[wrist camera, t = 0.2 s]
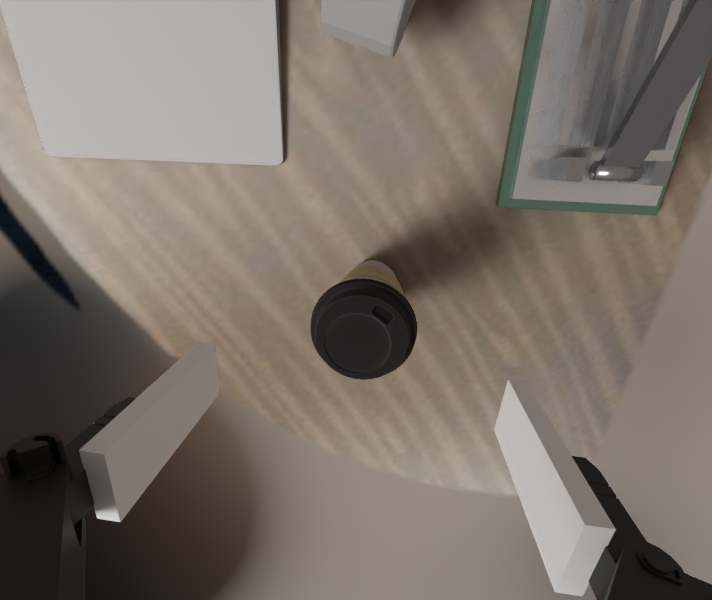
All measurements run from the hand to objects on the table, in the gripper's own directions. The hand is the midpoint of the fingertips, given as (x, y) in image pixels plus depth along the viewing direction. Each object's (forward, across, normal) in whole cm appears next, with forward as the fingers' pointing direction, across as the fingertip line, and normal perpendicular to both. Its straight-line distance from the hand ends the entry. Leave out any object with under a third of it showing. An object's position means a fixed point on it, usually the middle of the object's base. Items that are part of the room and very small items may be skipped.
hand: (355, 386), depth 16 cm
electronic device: (+29, -26, +18) cm, 43 cm away
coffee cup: (+28, 0, -4) cm, 28 cm away
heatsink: (+28, +20, +19) cm, 39 cm away
